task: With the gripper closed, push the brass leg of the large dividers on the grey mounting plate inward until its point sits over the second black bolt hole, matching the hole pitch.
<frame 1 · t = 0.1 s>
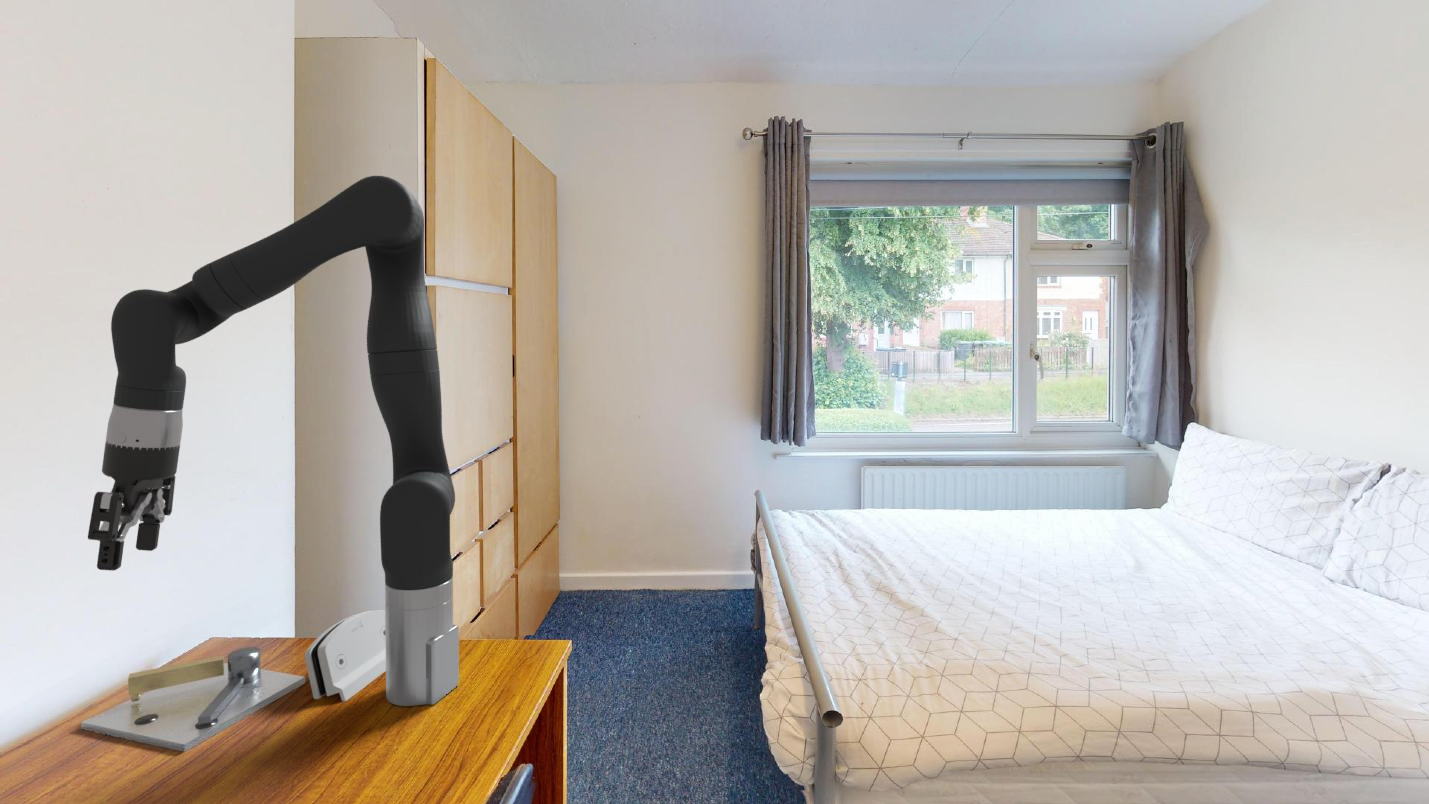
hand: (128, 559, 87), 22 cm above the table, tool pointing down, fingers open, 8 cm apart
hinge: (358, 674, 103), on the table
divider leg: (178, 678, 94), point 3 cm above the table, hinge at 0.0°
mounting plate: (201, 704, 93), on the table
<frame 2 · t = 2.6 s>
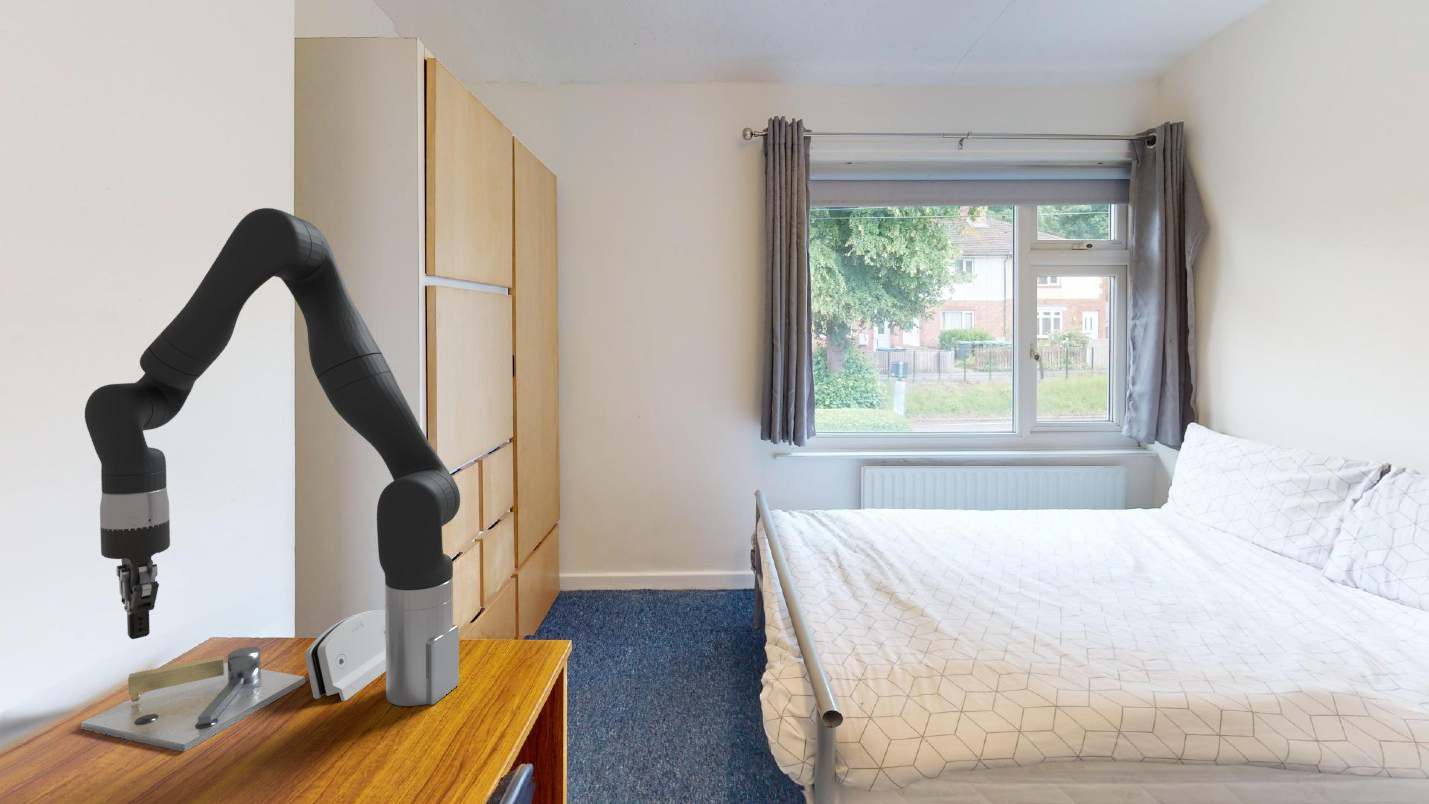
hand: (138, 636, 96), 8 cm above the table, tool pointing down, fingers closed
nothing on the table moved.
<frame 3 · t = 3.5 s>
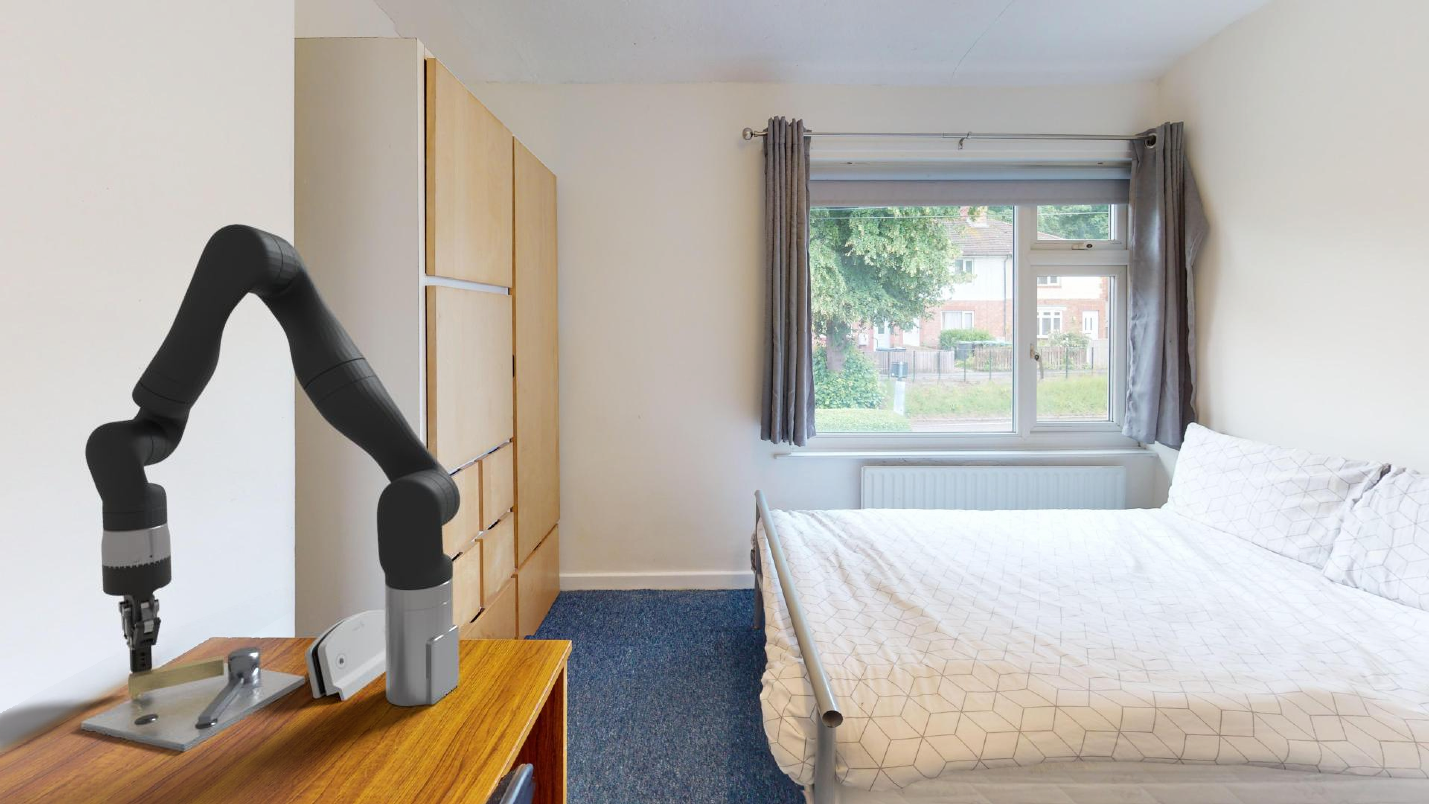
hand: (141, 671, 96), 3 cm above the table, tool pointing down, fingers closed
nothing on the table moved.
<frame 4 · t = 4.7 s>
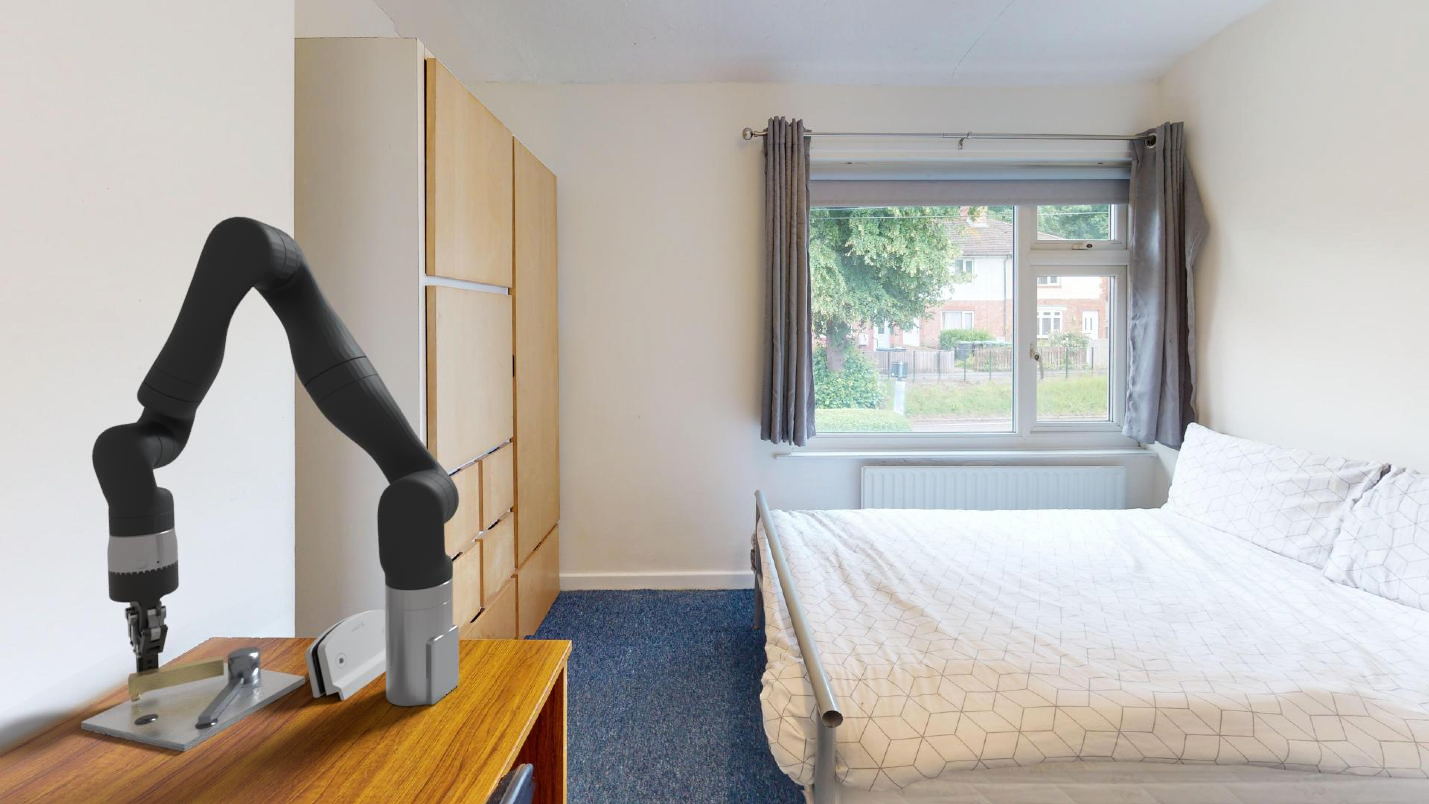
hand: (147, 678, 94), 3 cm above the table, tool pointing down, fingers closed
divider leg: (178, 678, 94), point 3 cm above the table, hinge at 0.2°, touching gripper
everything else where it was.
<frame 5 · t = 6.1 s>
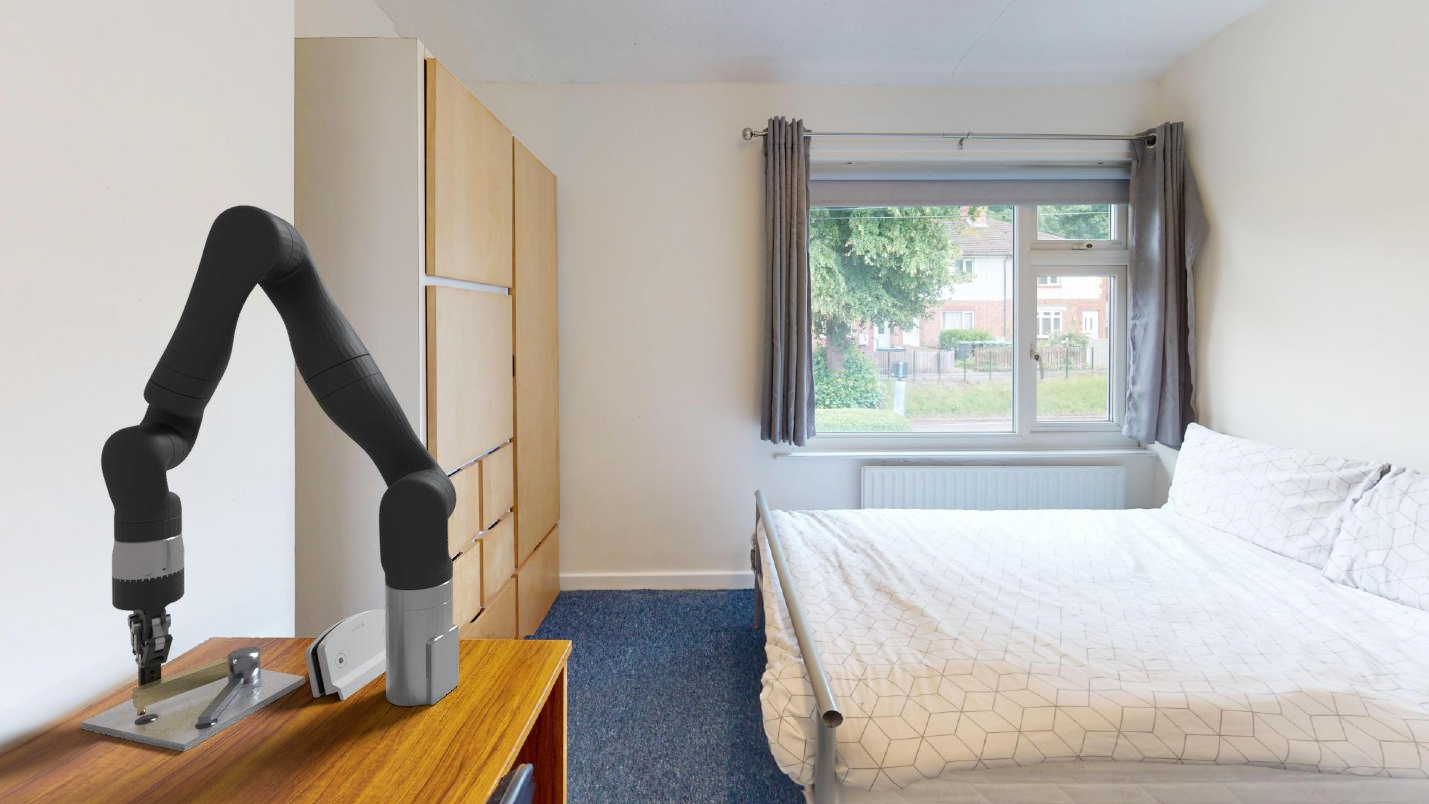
hand: (149, 689, 91), 3 cm above the table, tool pointing down, fingers closed
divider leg: (182, 686, 92), point 3 cm above the table, hinge at 23.9°, touching gripper
everything else where it was.
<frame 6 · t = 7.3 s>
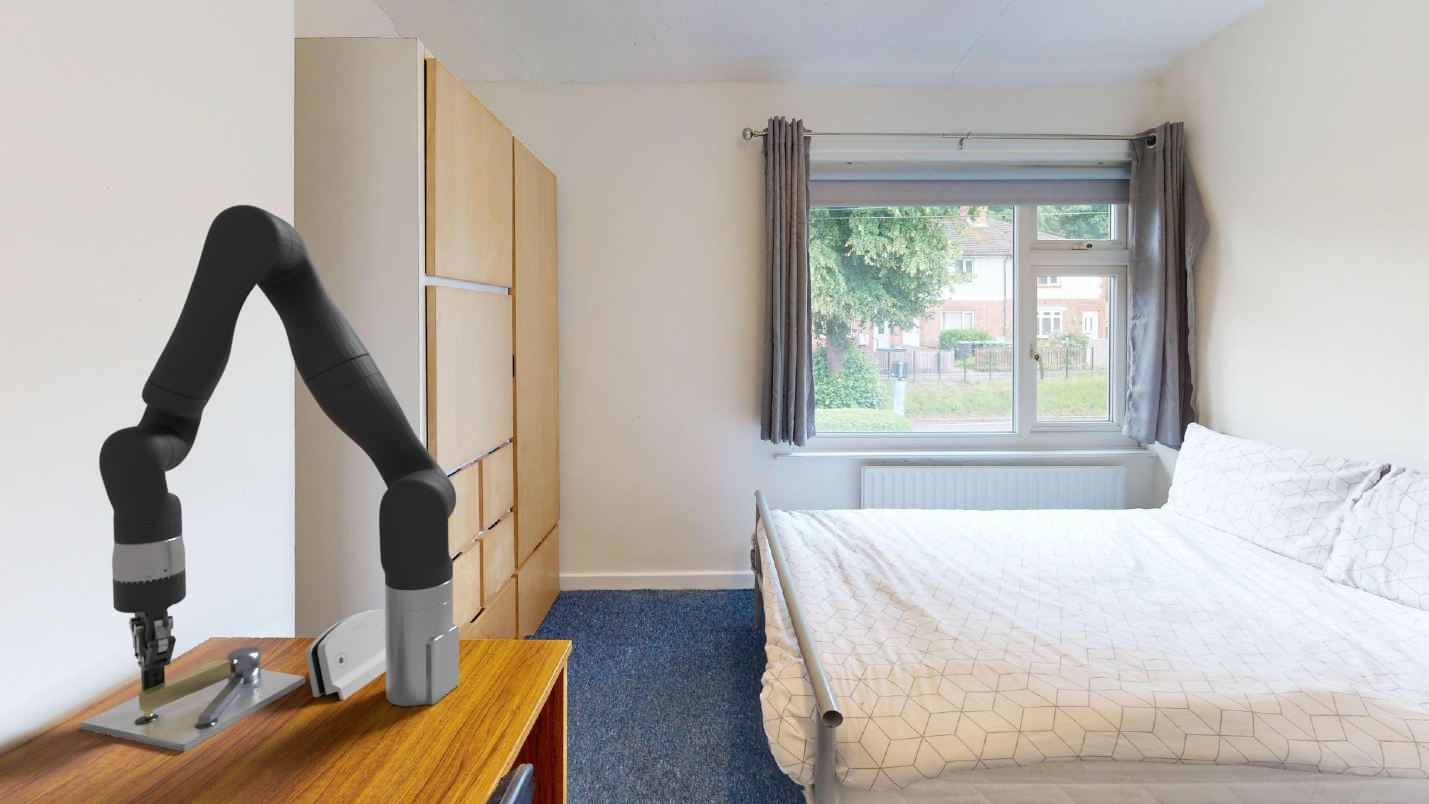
hand: (153, 692, 90), 3 cm above the table, tool pointing down, fingers closed
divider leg: (187, 688, 91), point 3 cm above the table, hinge at 32.4°
everything else where it was.
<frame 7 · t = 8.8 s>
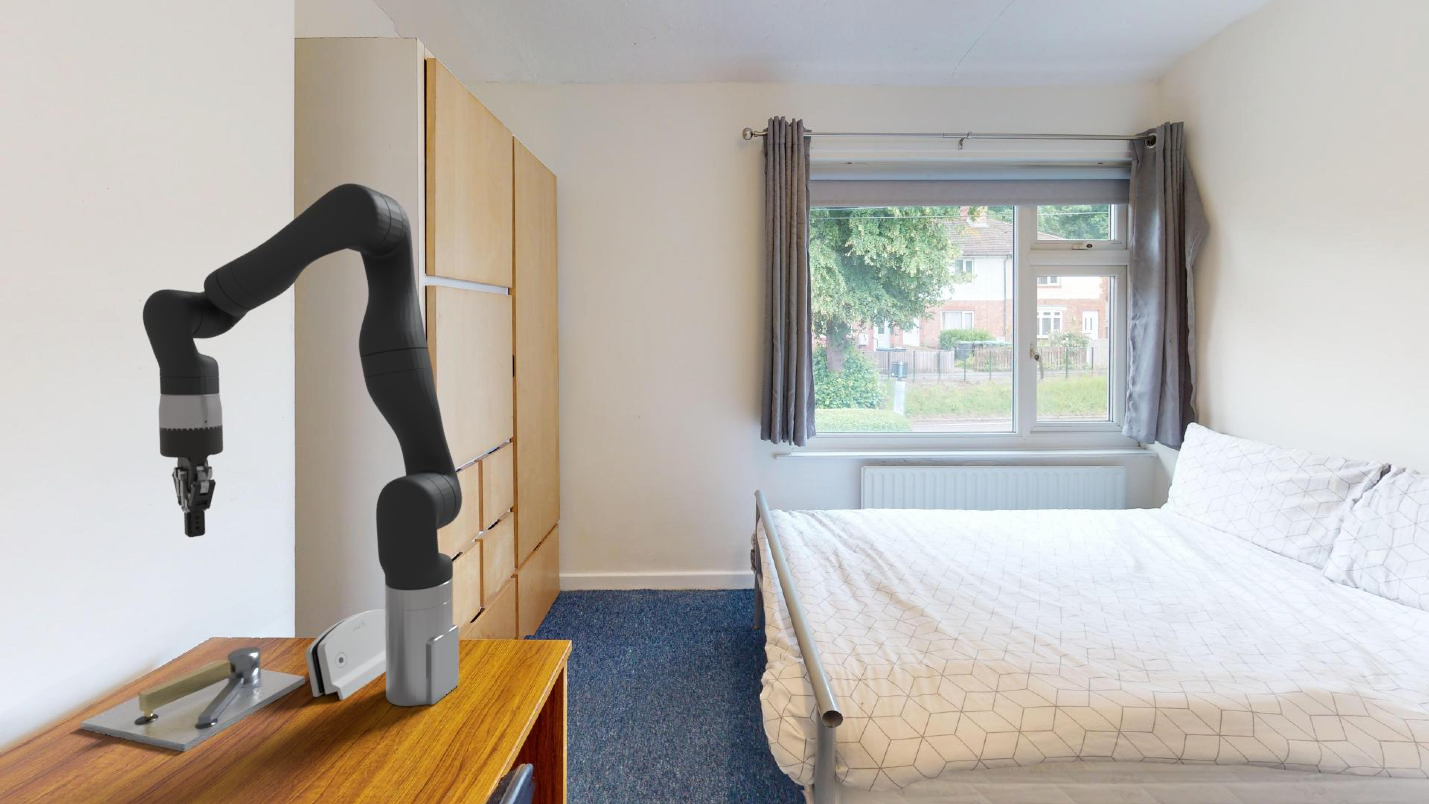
hand: (195, 535, 100), 22 cm above the table, tool pointing down, fingers closed
nothing on the table moved.
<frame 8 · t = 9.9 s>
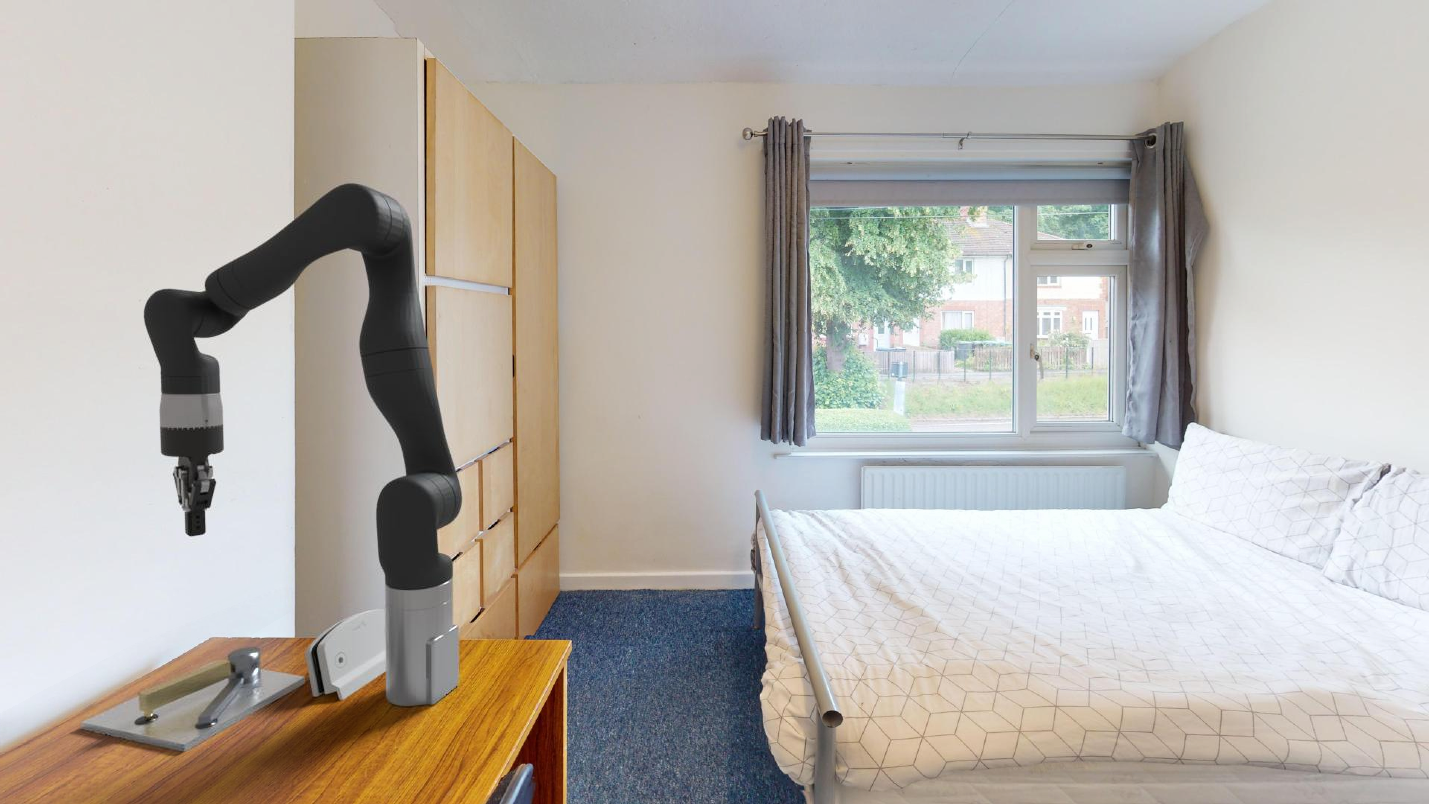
hand: (195, 534, 100), 22 cm above the table, tool pointing down, fingers closed
nothing on the table moved.
at the end: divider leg at +32° (first picture: +0°); hinge moved 0.7 cm from its start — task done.
